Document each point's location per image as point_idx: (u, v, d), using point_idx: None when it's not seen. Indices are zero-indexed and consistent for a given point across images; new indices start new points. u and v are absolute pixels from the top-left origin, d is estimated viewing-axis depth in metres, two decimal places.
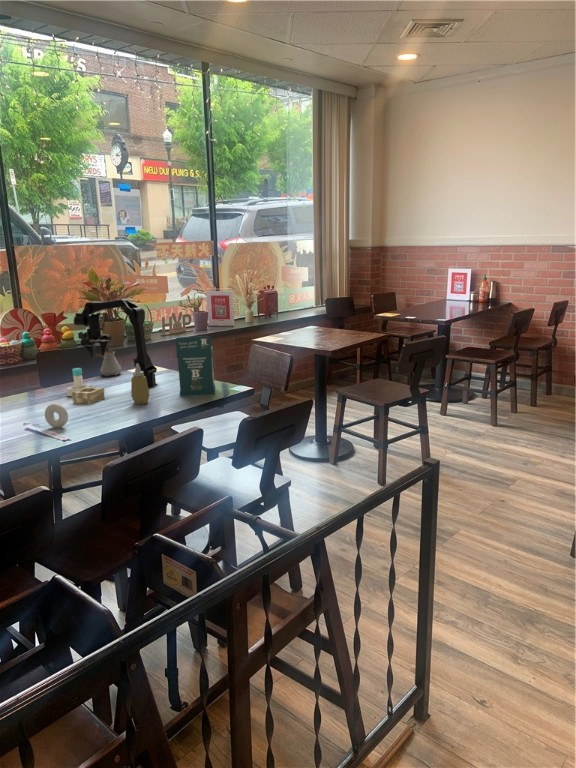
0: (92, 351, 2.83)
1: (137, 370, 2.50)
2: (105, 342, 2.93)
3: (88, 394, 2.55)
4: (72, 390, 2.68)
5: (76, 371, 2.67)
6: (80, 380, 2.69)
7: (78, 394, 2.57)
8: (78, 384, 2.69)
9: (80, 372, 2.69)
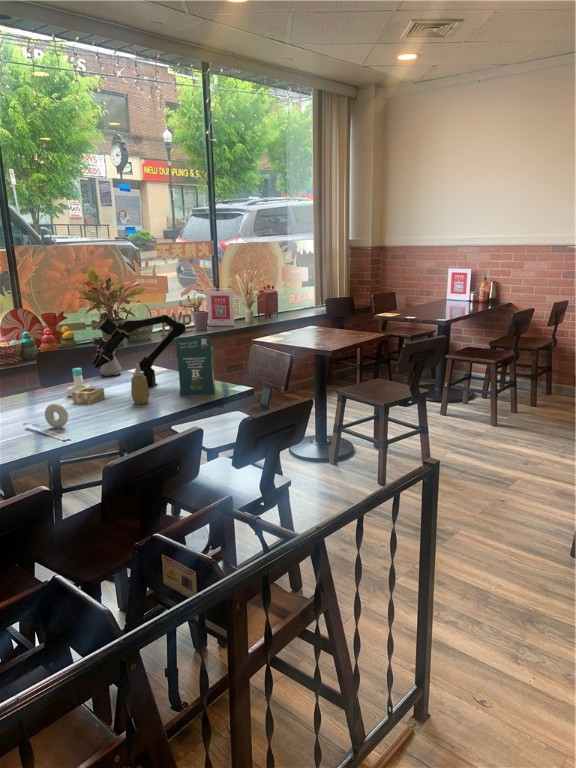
0: (102, 363, 2.68)
1: (137, 370, 2.50)
2: None
3: (88, 394, 2.55)
4: (72, 390, 2.68)
5: (76, 371, 2.67)
6: (80, 380, 2.69)
7: (78, 394, 2.57)
8: (78, 384, 2.69)
9: (80, 372, 2.69)
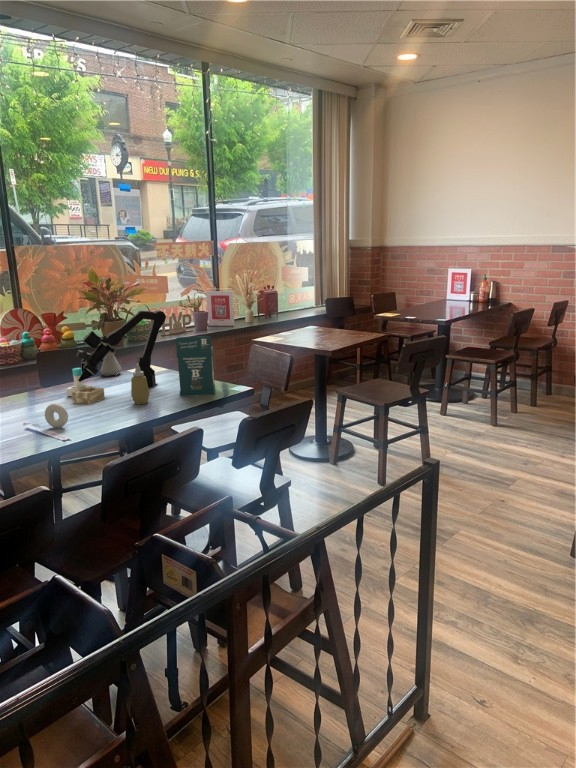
0: (86, 377, 2.66)
1: (137, 370, 2.50)
2: None
3: (88, 394, 2.55)
4: (72, 390, 2.68)
5: (76, 371, 2.67)
6: None
7: (78, 394, 2.57)
8: (78, 384, 2.69)
9: (80, 372, 2.69)
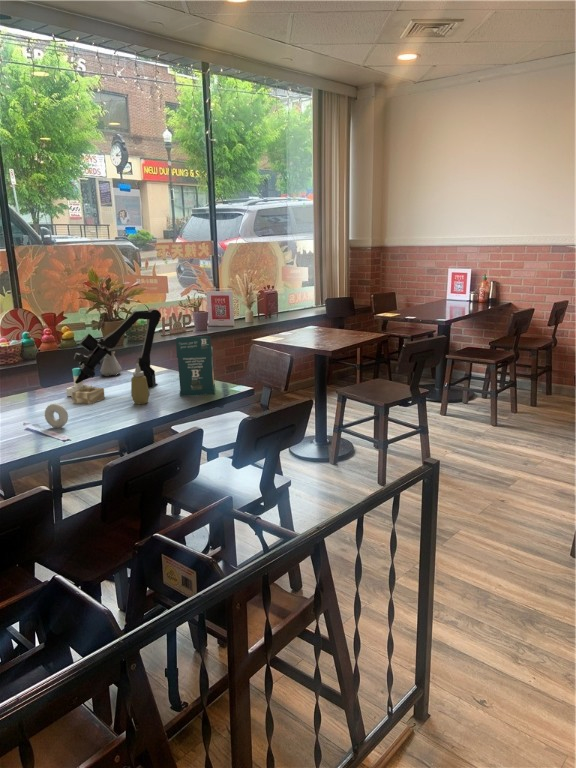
0: (83, 379, 2.68)
1: (137, 370, 2.50)
2: None
3: (88, 394, 2.55)
4: (72, 390, 2.68)
5: (76, 371, 2.67)
6: None
7: (78, 394, 2.57)
8: (78, 384, 2.69)
9: (80, 372, 2.69)
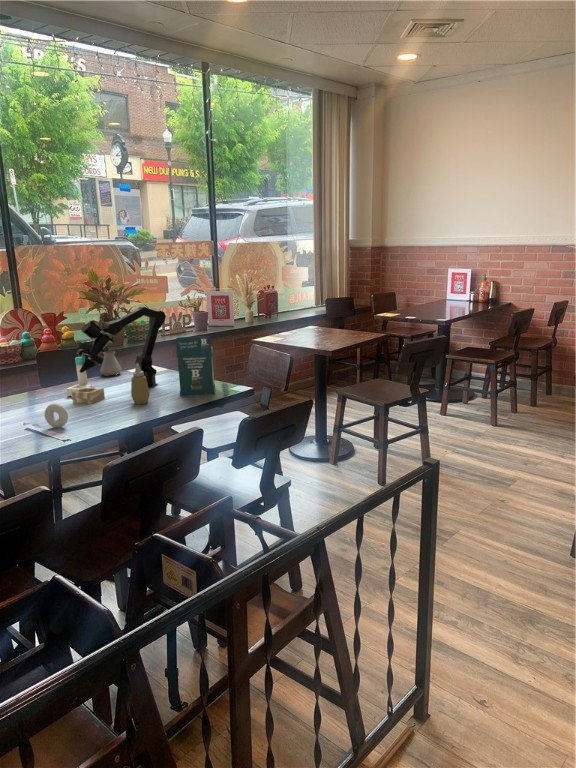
0: (88, 367, 2.60)
1: (137, 370, 2.50)
2: None
3: (88, 394, 2.55)
4: (72, 390, 2.68)
5: (80, 360, 2.58)
6: None
7: (78, 394, 2.57)
8: (82, 373, 2.60)
9: (84, 361, 2.60)
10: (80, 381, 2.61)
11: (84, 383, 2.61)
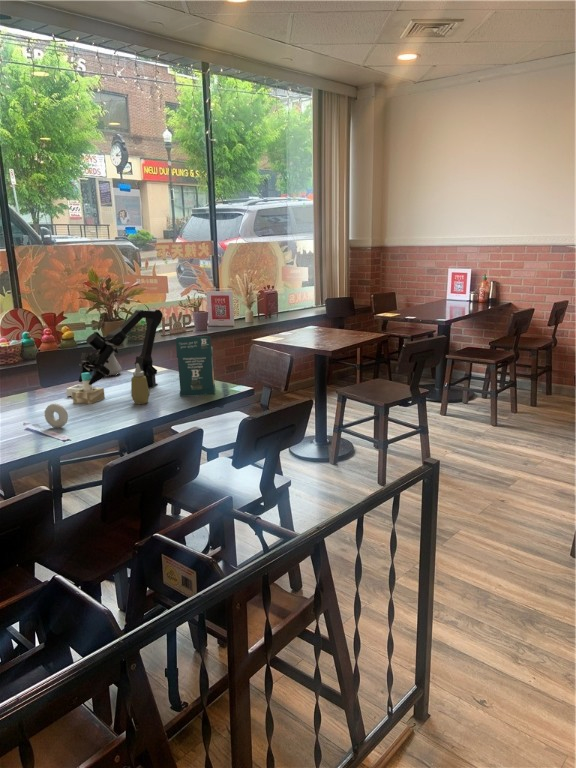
0: (97, 379, 2.57)
1: (137, 370, 2.50)
2: None
3: (88, 394, 2.55)
4: (72, 390, 2.68)
5: (87, 375, 2.57)
6: (91, 385, 2.59)
7: (78, 394, 2.57)
8: (89, 389, 2.59)
9: (90, 376, 2.59)
10: None
11: None
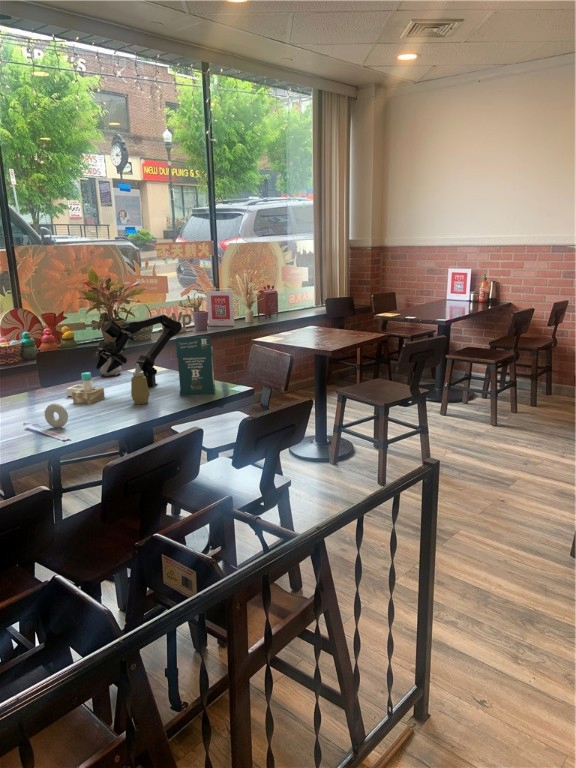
0: (114, 367, 2.64)
1: (137, 370, 2.50)
2: (105, 359, 2.72)
3: (88, 394, 2.55)
4: (72, 390, 2.68)
5: (87, 375, 2.57)
6: (91, 385, 2.59)
7: (78, 394, 2.57)
8: (89, 389, 2.59)
9: (90, 376, 2.59)
10: None
11: None
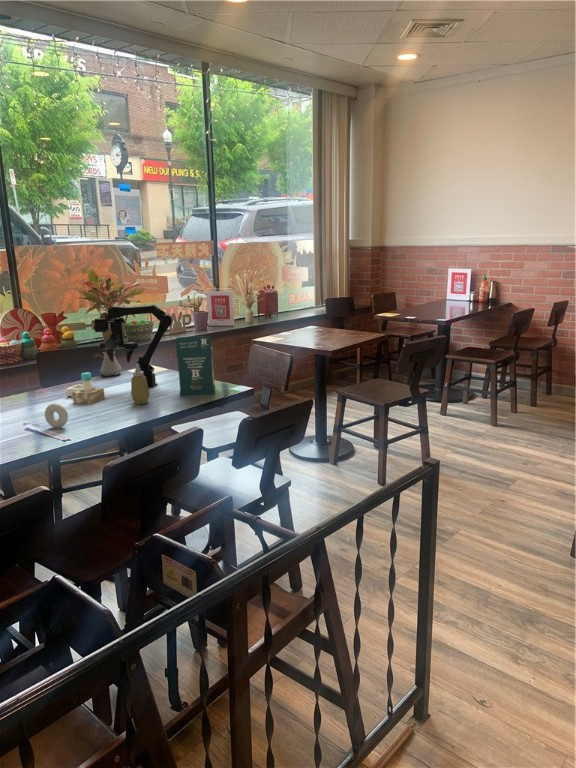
0: (131, 355, 2.80)
1: (137, 370, 2.50)
2: (112, 348, 2.83)
3: (88, 394, 2.55)
4: (72, 390, 2.68)
5: (87, 375, 2.57)
6: (91, 385, 2.59)
7: (78, 394, 2.57)
8: (89, 389, 2.59)
9: (90, 376, 2.59)
10: None
11: None
